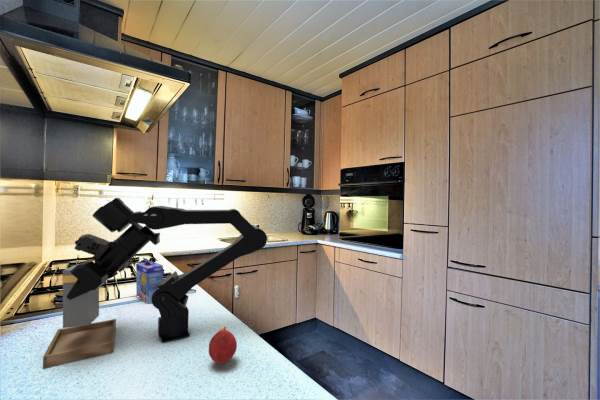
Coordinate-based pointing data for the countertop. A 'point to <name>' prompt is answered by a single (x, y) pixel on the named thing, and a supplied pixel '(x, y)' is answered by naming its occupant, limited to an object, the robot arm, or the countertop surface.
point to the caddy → (78, 303)
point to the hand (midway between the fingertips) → (74, 293)
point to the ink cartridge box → (148, 279)
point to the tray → (80, 343)
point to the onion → (222, 346)
